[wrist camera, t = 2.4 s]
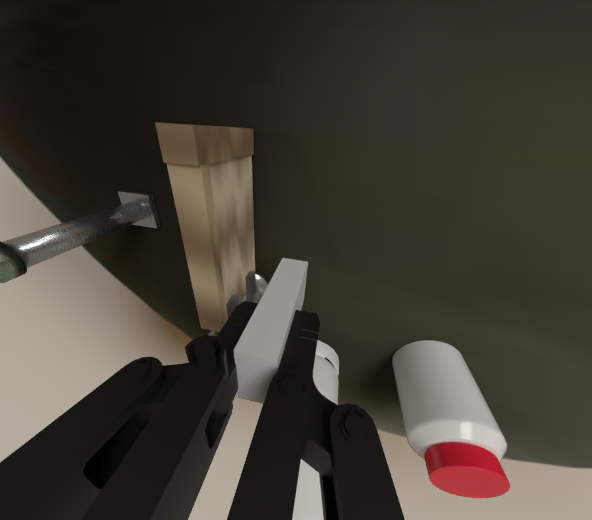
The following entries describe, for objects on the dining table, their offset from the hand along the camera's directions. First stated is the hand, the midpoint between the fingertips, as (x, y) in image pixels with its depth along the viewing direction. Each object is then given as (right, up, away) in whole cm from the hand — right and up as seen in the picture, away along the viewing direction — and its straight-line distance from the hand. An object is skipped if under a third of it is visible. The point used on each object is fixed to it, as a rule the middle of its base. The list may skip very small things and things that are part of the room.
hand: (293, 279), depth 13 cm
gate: (-5, +5, +8) cm, 10 cm away
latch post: (-17, +7, +11) cm, 21 cm away
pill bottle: (+16, -11, +14) cm, 24 cm away
